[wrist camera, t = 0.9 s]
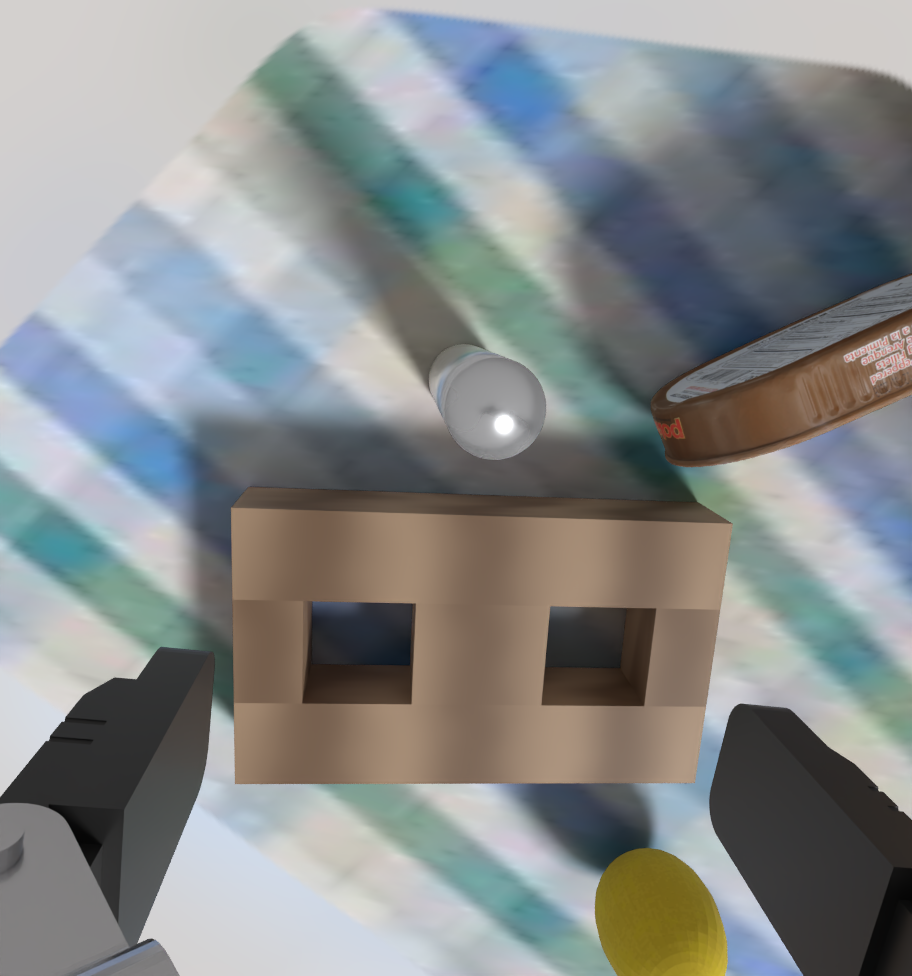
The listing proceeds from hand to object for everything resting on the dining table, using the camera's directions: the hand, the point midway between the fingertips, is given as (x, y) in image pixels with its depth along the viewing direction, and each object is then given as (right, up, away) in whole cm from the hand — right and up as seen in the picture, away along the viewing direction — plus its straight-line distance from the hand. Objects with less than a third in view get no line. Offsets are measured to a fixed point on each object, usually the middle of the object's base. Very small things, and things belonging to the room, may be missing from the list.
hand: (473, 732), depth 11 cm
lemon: (+9, -15, +27) cm, 32 cm away
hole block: (0, -2, +23) cm, 23 cm away
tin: (+14, +10, +21) cm, 27 cm away
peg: (0, +8, +20) cm, 22 cm away
